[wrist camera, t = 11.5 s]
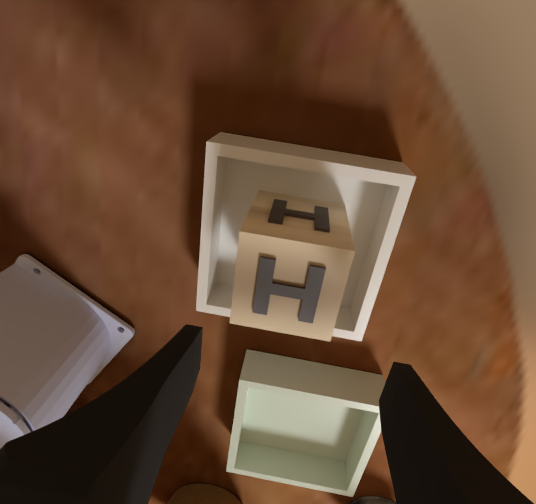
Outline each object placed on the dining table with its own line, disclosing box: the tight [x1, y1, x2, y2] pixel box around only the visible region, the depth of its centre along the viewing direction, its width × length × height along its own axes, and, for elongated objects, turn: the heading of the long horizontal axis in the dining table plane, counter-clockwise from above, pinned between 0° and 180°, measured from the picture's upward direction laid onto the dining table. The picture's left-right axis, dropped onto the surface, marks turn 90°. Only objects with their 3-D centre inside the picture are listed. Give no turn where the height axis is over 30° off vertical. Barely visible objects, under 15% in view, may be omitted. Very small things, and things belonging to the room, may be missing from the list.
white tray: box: [196, 132, 416, 341], centre depth 21 cm, size 10×10×3 cm
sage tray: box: [226, 349, 385, 497], centre depth 28 cm, size 10×10×3 cm
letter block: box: [230, 190, 355, 342], centre depth 19 cm, size 5×5×6 cm
